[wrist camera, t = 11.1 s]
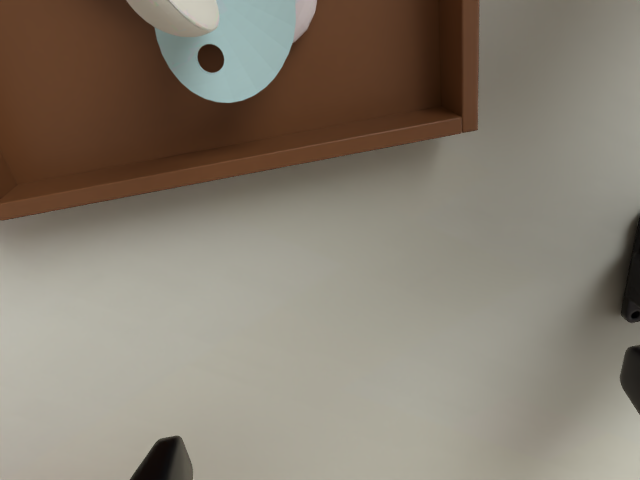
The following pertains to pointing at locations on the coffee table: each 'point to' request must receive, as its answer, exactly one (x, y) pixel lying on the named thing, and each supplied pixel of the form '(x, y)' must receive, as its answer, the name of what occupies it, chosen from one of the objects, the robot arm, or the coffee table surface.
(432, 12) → the tray
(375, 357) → the coffee table surface
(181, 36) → the pacifier
